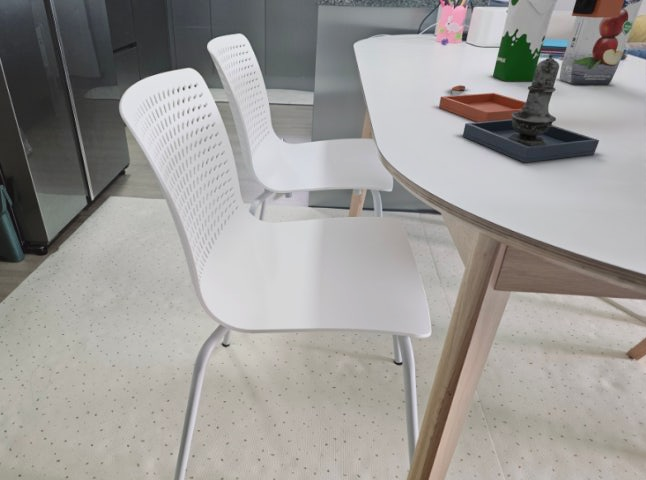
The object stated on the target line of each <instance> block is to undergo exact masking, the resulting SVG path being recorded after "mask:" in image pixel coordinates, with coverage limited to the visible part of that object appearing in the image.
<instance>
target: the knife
mask: <svg viewBox="0 0 646 480" xmlns="http://www.w3.org/2000/svg"><path fill="white" fill-rule="evenodd" d="M465 89H466V86H465V85H461V84H460V85H455V86H453V87H452V88H451V91H450V92H451V95H449V96H457V95H466V92H464V91H462V90H465Z"/></svg>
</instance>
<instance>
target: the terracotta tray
mask: <svg viewBox="0 0 646 480" xmlns="http://www.w3.org/2000/svg"><path fill="white" fill-rule="evenodd" d="M525 103H526V101H524V100H520V99H516V98H513V97H510V96H506V95H503V94H500V93H496V92H488V93H473V94H472V93H471V94H464V95H457V96H450V95H445V96H440V100H439V105H438V109H442V110H445V111H447V112H450V113H451V114H455V115H458V116H461V117H463V118H466V119H468V120H471V121H474V122H486V121H497V120H508V119H513V118H512V116H511V114H512V113H514V112H519V111H520V110H522V108H523V107H524V105H525Z"/></svg>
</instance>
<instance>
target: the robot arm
mask: <svg viewBox="0 0 646 480" xmlns="http://www.w3.org/2000/svg"><path fill="white" fill-rule="evenodd" d="M596 2H597V0H575V3H574V6H573V9H572V13H574V14H592V13H593V11H594V8H595V5H596Z"/></svg>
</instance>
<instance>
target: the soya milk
mask: <svg viewBox="0 0 646 480" xmlns="http://www.w3.org/2000/svg"><path fill="white" fill-rule="evenodd" d="M557 2H558V0H508V7H507V14H506V18H505V23H504V27H503V32H502V34H501V35H502V36H501V40H500V44H499V48H498V53H497V55H496V56H497V57H496V60H495V65H494V69H493V73H492V77H494V78H496V79H499V80H501V81H503V82H532V81H533V78H534V74H535V71H536V67H537V65H538V63H539V61H540V57H541V53H542V49H543V45H544V42H545V39H546V36H547V32H548V28H549V25H550V21H551V18H552V15H553V12H554V10H555V7H556V4H557Z"/></svg>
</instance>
